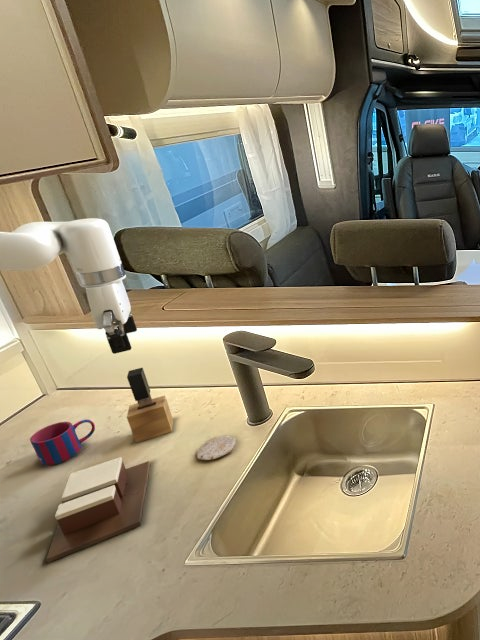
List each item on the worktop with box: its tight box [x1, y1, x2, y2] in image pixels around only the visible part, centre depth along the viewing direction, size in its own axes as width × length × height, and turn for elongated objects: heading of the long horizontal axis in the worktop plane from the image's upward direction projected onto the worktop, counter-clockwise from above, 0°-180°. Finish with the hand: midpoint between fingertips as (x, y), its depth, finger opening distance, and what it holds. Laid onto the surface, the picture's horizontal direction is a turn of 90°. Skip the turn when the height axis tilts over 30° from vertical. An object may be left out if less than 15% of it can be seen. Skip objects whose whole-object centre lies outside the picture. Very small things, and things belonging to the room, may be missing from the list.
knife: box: [126, 367, 154, 409], centre depth 102 cm, size 3×3×17 cm
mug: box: [29, 419, 96, 467], centre depth 98 cm, size 7×10×7 cm
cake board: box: [45, 460, 151, 564], centre depth 85 cm, size 13×18×1 cm
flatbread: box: [196, 435, 237, 461], centre depth 100 cm, size 8×8×1 cm
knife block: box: [126, 395, 174, 444], centre depth 104 cm, size 7×5×8 cm
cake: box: [61, 456, 128, 503], centre depth 87 cm, size 8×7×5 cm
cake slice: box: [54, 485, 122, 535], centre depth 81 cm, size 8×3×5 cm, turn 125°
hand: (125, 341), depth 97 cm, fingers open, 9 cm apart
